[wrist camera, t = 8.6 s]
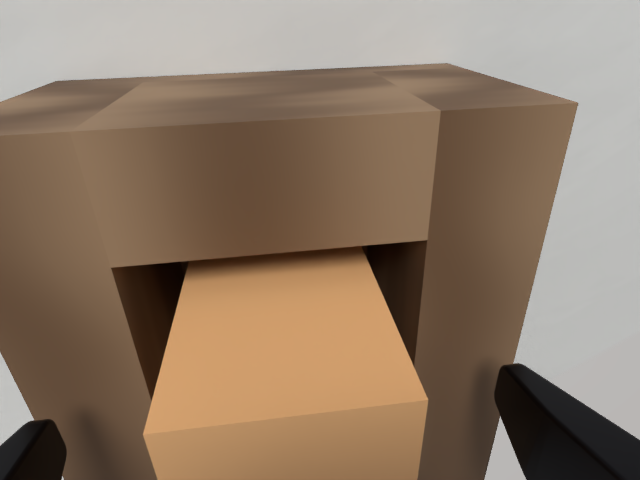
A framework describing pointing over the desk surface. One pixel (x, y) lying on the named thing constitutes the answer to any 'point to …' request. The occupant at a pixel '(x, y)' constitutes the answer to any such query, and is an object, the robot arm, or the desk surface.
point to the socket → (269, 229)
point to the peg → (285, 375)
